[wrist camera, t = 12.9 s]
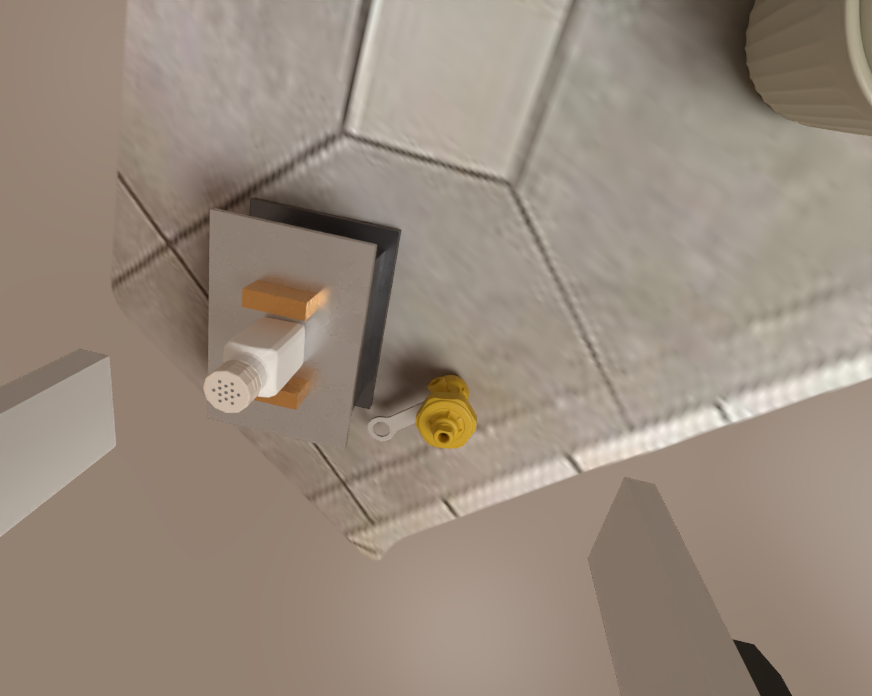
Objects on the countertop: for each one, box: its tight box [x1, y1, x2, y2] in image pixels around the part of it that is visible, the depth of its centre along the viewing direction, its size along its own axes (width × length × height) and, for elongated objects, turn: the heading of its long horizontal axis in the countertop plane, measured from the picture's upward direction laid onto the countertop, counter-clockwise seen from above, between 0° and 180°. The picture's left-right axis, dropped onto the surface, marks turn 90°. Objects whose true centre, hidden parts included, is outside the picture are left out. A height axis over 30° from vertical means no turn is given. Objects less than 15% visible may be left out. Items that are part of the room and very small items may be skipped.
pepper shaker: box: [203, 317, 305, 413], centre depth 36 cm, size 4×4×10 cm
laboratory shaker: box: [208, 198, 401, 450], centre depth 43 cm, size 19×14×11 cm
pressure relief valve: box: [368, 375, 477, 448], centre depth 46 cm, size 6×12×10 cm, turn 119°
